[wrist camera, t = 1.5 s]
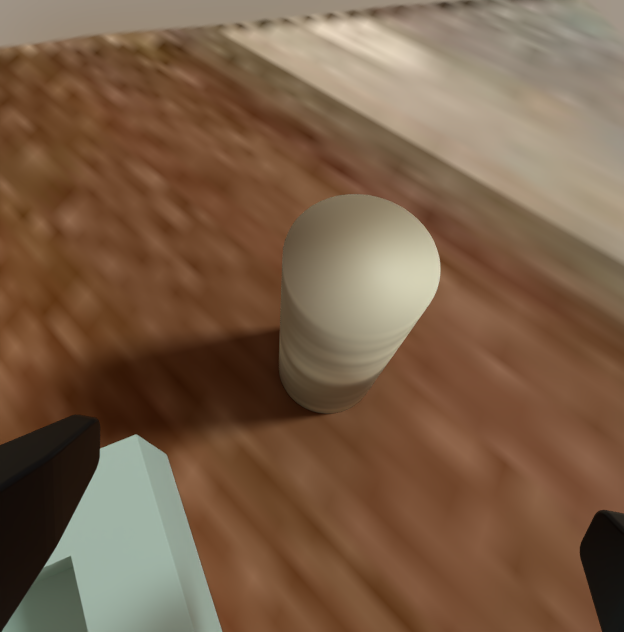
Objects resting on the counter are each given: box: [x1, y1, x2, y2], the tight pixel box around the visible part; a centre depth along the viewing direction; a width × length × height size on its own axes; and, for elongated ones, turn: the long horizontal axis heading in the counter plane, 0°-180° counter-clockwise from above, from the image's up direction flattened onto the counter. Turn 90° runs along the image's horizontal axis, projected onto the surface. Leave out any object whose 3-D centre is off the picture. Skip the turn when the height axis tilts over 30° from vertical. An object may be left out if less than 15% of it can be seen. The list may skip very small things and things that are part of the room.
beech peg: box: [279, 194, 440, 414], centre depth 18 cm, size 4×4×10 cm
